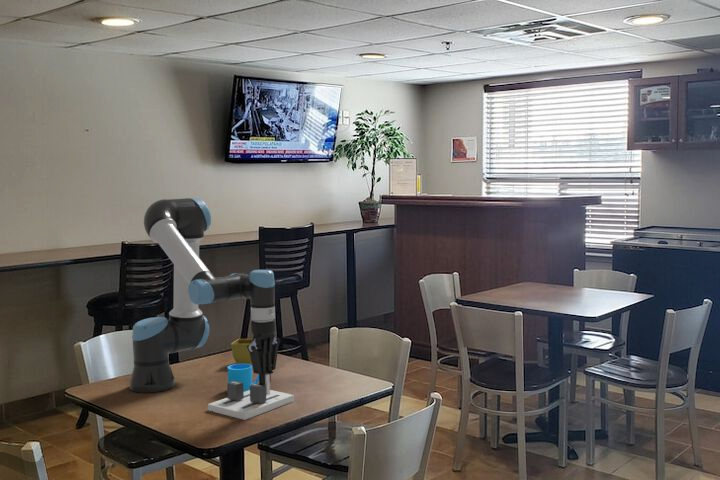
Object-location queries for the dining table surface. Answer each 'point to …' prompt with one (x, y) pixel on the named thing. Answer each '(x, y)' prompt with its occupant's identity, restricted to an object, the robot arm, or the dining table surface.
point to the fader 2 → (257, 393)
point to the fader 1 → (235, 390)
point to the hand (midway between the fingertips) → (265, 394)
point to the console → (250, 405)
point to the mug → (241, 375)
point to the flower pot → (241, 351)
